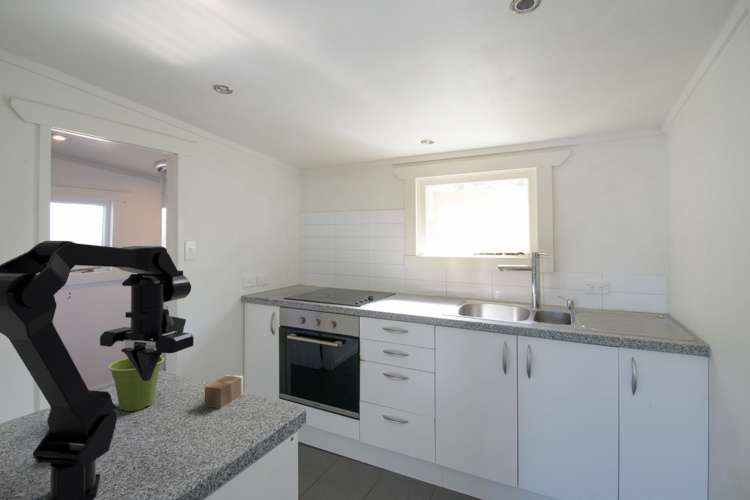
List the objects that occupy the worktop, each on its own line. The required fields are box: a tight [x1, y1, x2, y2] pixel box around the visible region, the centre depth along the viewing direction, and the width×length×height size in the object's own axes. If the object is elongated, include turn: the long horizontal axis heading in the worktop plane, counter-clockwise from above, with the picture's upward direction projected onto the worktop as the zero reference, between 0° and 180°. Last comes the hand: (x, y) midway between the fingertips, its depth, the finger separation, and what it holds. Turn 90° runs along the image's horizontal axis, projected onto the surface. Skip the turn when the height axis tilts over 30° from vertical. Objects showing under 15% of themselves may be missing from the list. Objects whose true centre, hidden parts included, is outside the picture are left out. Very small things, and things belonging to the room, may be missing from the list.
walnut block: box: [204, 373, 244, 409], centre depth 94 cm, size 5×5×9 cm
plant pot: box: [107, 355, 165, 412], centre depth 89 cm, size 12×12×11 cm
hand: (146, 380), depth 73 cm, fingers closed
